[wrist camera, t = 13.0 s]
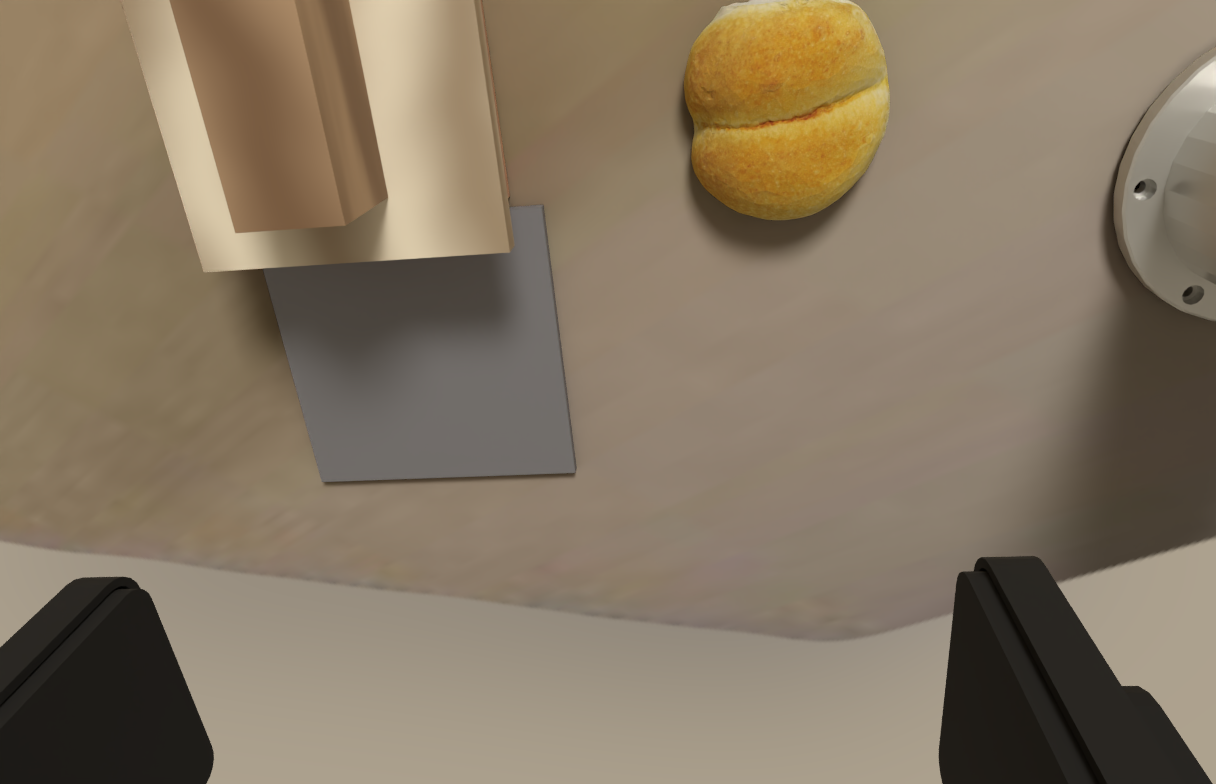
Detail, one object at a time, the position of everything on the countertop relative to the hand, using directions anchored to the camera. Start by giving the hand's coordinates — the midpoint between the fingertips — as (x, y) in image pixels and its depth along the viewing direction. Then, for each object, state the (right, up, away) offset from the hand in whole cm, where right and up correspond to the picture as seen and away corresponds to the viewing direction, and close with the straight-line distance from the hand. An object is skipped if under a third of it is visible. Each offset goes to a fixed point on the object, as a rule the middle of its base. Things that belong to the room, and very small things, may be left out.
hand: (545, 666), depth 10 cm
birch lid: (-10, +15, +22) cm, 28 cm away
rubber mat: (-9, +5, +32) cm, 34 cm away
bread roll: (+8, +16, +26) cm, 31 cm away
